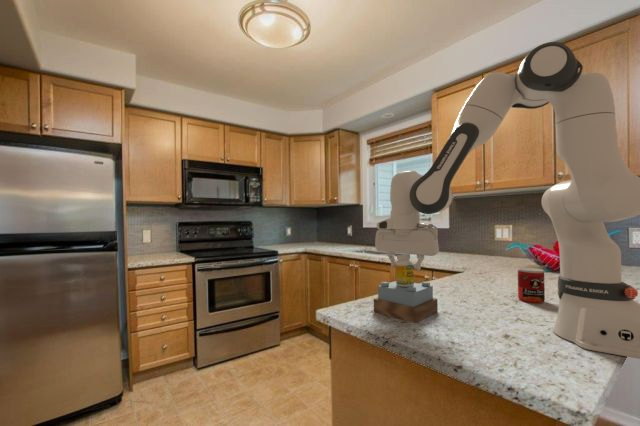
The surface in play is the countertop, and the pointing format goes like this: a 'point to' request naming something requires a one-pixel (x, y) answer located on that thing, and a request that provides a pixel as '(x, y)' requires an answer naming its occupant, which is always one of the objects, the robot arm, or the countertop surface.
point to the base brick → (406, 309)
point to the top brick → (405, 293)
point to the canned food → (531, 285)
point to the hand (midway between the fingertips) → (405, 268)
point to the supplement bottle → (404, 271)
